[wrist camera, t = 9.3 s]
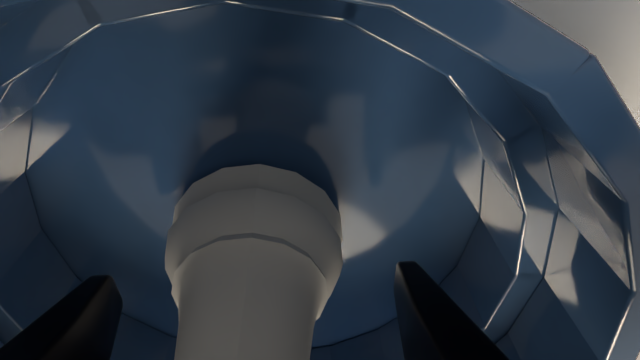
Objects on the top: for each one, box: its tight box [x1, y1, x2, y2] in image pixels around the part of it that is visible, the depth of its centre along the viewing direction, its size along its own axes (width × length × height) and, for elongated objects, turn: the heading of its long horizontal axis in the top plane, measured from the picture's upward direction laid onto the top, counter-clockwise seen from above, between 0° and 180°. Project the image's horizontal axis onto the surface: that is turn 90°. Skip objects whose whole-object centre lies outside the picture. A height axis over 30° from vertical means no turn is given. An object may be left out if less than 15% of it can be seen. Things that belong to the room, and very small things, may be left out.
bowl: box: [0, 0, 640, 360], centre depth 9 cm, size 14×14×5 cm
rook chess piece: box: [165, 164, 343, 360], centre depth 8 cm, size 4×4×8 cm
